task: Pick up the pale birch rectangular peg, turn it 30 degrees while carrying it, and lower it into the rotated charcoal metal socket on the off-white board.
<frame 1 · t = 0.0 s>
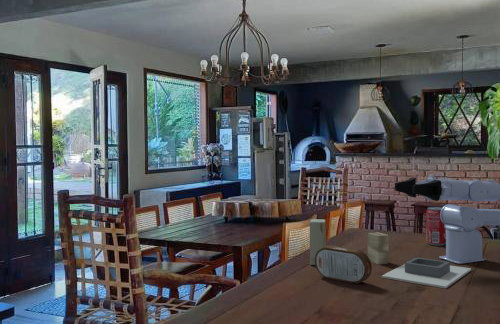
hand: (404, 187, 138), 22 cm above the table, tool horizontal, fingers open, 7 cm apart
soda can: (436, 244, 167), on the table
skincare box: (318, 263, 145), on the table
peg socket: (427, 273, 132), on the table
tin: (342, 281, 127), on the table
birch peg: (378, 261, 145), on the table
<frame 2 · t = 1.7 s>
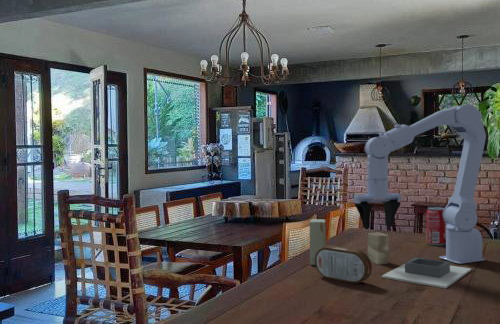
hand: (377, 227, 145), 10 cm above the table, tool pointing down, fingers open, 7 cm apart
nothing on the table moved.
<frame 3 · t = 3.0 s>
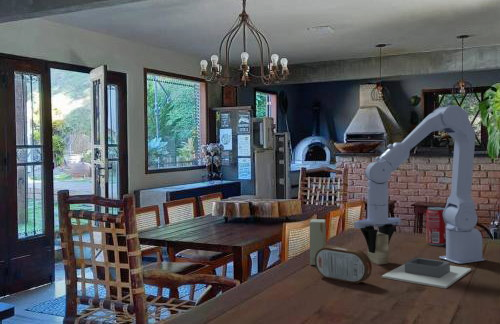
hand: (377, 251, 145), 3 cm above the table, tool pointing down, fingers closed on birch peg, 3 cm apart
birch peg: (377, 261, 145), on the table, touching gripper
everything else where it was.
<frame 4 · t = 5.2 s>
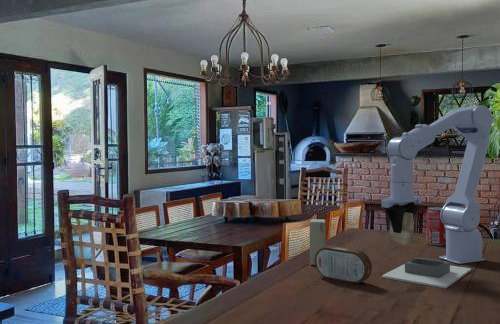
hand: (402, 231, 138), 10 cm above the table, tool pointing down, fingers closed on birch peg, 3 cm apart
birch peg: (401, 242, 138), point 7 cm above the table, touching gripper
everything else where it was.
when the fingers open (4 cm above the table, at t = 7.5 s): birch peg stays where it is, resting on peg socket.
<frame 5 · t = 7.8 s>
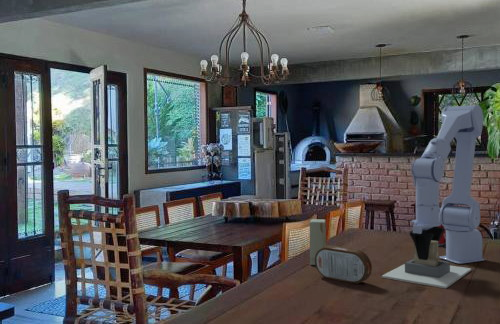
hand: (427, 257, 132), 4 cm above the table, tool pointing down, fingers open, 6 cm apart
birch peg: (426, 271, 132), resting on peg socket
everything else where it was.
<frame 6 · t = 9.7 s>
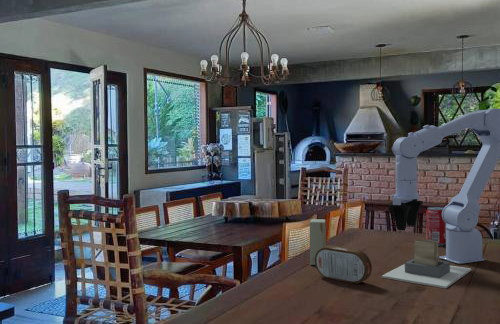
hand: (406, 227, 143), 10 cm above the table, tool pointing down, fingers open, 7 cm apart
nothing on the table moved.
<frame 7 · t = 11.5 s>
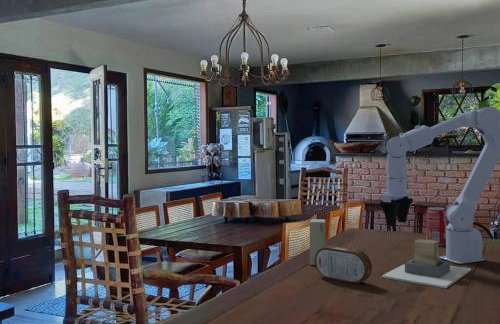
hand: (396, 224, 150), 10 cm above the table, tool pointing down, fingers open, 7 cm apart
nothing on the table moved.
at the end: birch peg 0.3 cm off-centre on the peg socket, point 0.5 cm above the peg socket's base; birch peg tilted 0°; the gripper is holding nothing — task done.
